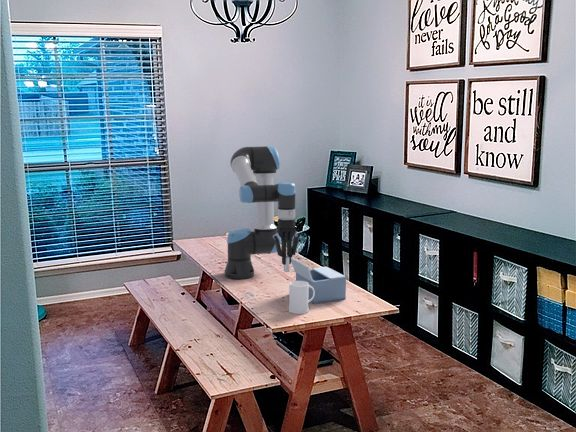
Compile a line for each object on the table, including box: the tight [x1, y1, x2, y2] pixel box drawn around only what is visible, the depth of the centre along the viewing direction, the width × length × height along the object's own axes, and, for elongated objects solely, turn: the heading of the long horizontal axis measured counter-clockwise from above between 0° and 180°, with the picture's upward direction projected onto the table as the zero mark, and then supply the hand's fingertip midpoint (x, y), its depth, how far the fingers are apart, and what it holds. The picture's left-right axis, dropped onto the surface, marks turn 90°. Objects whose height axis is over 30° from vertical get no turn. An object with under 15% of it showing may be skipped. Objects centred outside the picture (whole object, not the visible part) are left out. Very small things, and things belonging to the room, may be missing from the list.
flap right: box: [311, 266, 346, 279], centre depth 274 cm, size 7×18×1 cm, turn 25°
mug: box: [288, 280, 315, 315], centre depth 255 cm, size 12×8×12 cm
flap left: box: [291, 256, 314, 282], centre depth 268 cm, size 7×18×1 cm
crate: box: [295, 269, 347, 305], centre depth 274 cm, size 16×18×10 cm
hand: (286, 271), depth 265 cm, fingers closed
